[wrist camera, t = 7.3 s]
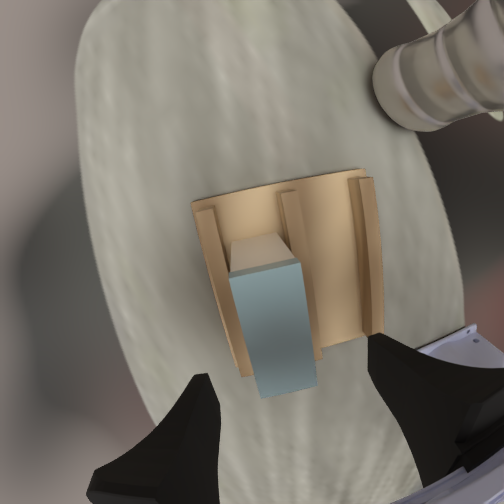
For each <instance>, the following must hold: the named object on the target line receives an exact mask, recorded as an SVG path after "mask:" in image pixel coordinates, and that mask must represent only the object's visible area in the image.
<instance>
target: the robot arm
mask: <svg viewBox="0 0 504 504" xmlns="http://www.w3.org/2000/svg"><path fill="white" fill-rule="evenodd" d="M476 328H477V325H476V324H475V323H473V324H471V325H469V326H467V327H465V328H463V329H461V330H459V331H457V332H455V333H453V334H451V335H449V336H447V337H445V338H443V339H440V340H438V341H436V342H434V343H432V344H429V345H427V346H425V347H422V348H420V349H418V350H415V349H412V348H410V347H408V346H406V345H404V344H402V343H400V342H398V341H396V340H394V339H392V338H390V337H388V336H386V335H384V334H382V333H380V332H379V333H376V334H373V335H370V336H368V372H369V375H370V377H371V379H372V381H373V383H374V385H375V387H376V389H377V391H378V392H379V394H380V395H381V397H382V398H383V400H384V401H385V403H386V405H387V406H388V408H389V409H390V411H391V412H392V414H393V415H394V417H395V418H396V420H397V422H398V424H399V425H400V427H401V429H402V432H403V434H404V436H405V438H406V440H407V443H408V445H409V448H410V450H411V452H412V455H413V457H414V460H415V463H416V466H417V469H418V472H419V475H420V478H421V481H422V485H423V489H421V490H419V491H417V492H415V493H413V494H411V495H409V496H407V497H404V498H402V499H400V500H397V501H395V502H393V503H390V504H497V503H499V502H504V353H502V352H501V351H500V350H499V349H497V348H496V347H495V346H494V345H492V344H491V343H490V342H489V341H487V340H486V339H485V338H484V337H482V336H481V335H480V334H478V333H477V332H476ZM220 430H221V412H220V403H219V401H218V398H217V396H216V393H215V391H214V388H213V386H212V383H211V381H210V378H209V375H208V373H204V374H196V375H194V376H193V377H192V379H191V380H190V382H189V384H188V385H187V387H186V388H185V390H184V391H183V393H182V394H181V396H180V397H179V399H178V400H177V402H176V403H175V404H174V406H173V407H172V409H171V410H170V411H169V412H168V414H167V415H166V416H165V418H164V419H163V420H162V421H161V422H160V423H159V425H158V426H157V427H156V428H155V429H154V430H153V431H152V432H151V433H150V434H149V435H148V436H147V437H145V438H144V439H143V440H142V441H141V442H139V443H138V444H137V445H136V446H135V447H133V448H132V449H131V450H129V451H128V452H126V453H125V454H123V455H122V456H120V457H119V458H117V459H115V460H114V461H112V462H110V463H108V464H106V465H104V466H102V467H100V468H98V469H96V470H95V471H94V473H93V476H92V478H91V481H90V484H89V487H88V489H87V492H86V496H87V497H88V499H89V501H90V502H92V503H93V504H220V501H219V488H218V454H219V442H220Z"/></svg>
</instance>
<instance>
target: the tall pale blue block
mask: <svg viewBox="0 0 504 504" xmlns="http://www.w3.org/2000/svg"><path fill="white" fill-rule="evenodd" d="M229 282H230V286H231V290H232V294H233V298H234V302H235V306H236V309H237V313H238V317H239V321H240V325H241V328H242V332H243V336H244V340H245V343H246V347H247V351H248V354H249V358H250V361H251V365H252V369H253V372H254V376H255V379H256V383H257V386H258V390H259V393H260V397H261V398H266V397H271V396H276V395H281V394H285V393H290V392H294V391H298V390H302V389H306V388H310V387H314V386H318V385H317V376H316V367H315V359H314V351H313V343H312V336H311V329H310V321H309V314H308V307H307V301H306V294H305V287H304V281H303V275H302V269H301V263H300V261H299V260H298V259H297V257H296V258H295V257H294V256H293V254H292V253H291V251H290V250H289V249H288V247H287V246H286V245H285V243H284V242H283V241H282V239H281V238H280V236H279V235H278V234H277V232H275V233H270V234H265V235H261V236H256V237H251V238H247V239H242V240H238V241H233V242H232V243H231V266H230V272H229Z"/></svg>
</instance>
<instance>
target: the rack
mask: <svg viewBox="0 0 504 504" xmlns="http://www.w3.org/2000/svg"><path fill="white" fill-rule="evenodd" d="M191 207H192V211H193V215H194V219H195V223H196V227H197V231H198V235H199V239H200V243H201V247H202V251H203V255H204V258H205V262H206V266H207V270H208V273H209V277H210V281H211V284H212V288H213V291H214V295H215V299H216V302H217V306H218V309H219V313H220V316H221V319H222V323H223V326H224V330H225V333H226V336H227V339H228V343H229V346H230V349H231V353H232V356H233V359H234V362H235V365H236V367H239V371H240V374H241V377H245V376H251V375H254V372H253V369H252V365H251V361H250V358H249V354H248V351H247V347H246V343H245V340H244V336H243V332H242V328H241V325H240V321H239V317H238V313H237V309H236V306H235V302H234V298H233V294H232V290H231V286H230V282H229V272H230V266H231V243H232V242H233V241H238V240H242V239H247V238H251V237H256V236H261V235H265V234H270V233H275V232H277V234H278V235H279V236H280V238H281V239H282V241H283V242H284V243H285V245H286V246H287V247H288V249H289V250H290V251H291V253H292V254H293V256H294V257H295V258H296V257H297V259H298V260H299V261H300V263H301V269H302V275H303V281H304V287H305V294H306V301H307V307H308V314H309V321H310V329H311V336H312V343H313V351H314V359H315V361H316V360H320V359H322V350H321V348H324V347H328V346H331V345H335V344H338V343H342V342H345V341H349V340H352V339H355V338H358V337H362V336H365V335H366V336H367V338H368V336H370V335H373V334H376V333H379V332H380V333H382V334H384V288H383V266H382V251H381V239H380V228H379V219H378V210H377V202H376V195H375V188H374V181H373V177H366V171H365V169H354V170H348V171H341V172H335V173H329V174H323V175H317V176H312V177H306V178H301V179H295V180H290V181H285V182H279V183H274V184H269V185H264V186H260V187H255V188H250V189H245V190H241V191H236V192H232V193H227V194H223V195H219V196H214V197H210V198H206V199H202V200H198V201H194V202H191Z"/></svg>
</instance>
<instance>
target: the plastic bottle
mask: <svg viewBox="0 0 504 504" xmlns="http://www.w3.org/2000/svg"><path fill="white" fill-rule="evenodd" d="M372 81H373V88H374V92H375V95H376V97H377V100H378V102H379V104H380V105H381V107H382V108H383V110H384V111H385V112H386V114H387V115H388V116H389V117H390V118H391V119H392V120H393V121H395V122H396V123H397V124H399V125H400V126H402V127H404V128H406V129H410V130H415V131H427V132H430V131H435V130H437V129H440V128H443V127H445V126H447V125H449V124H451V123H452V122H454V121H456V120H459V119H462V118H465V117H469V116H472V115H476V114H479V113H482V112H494V111H496V112H497V111H504V0H477V1H476V2H474V3H473V4H472V5H471V6H470V7H469V8H468V9H467V10H466V11H464V12H463V13H462V14H460V15H459V16H457V17H456V18H454V19H453V20H451V21H450V22H449V23H448V24H446V25H444V26H443V27H441V28H440V29H439V30H437V31H435V32H432V33H430V34H428V35H426V36H424V37H421V38H419V39H417V40H415V41H413V42H410V43H406V44H402V45H399V46H397V47H394V48H392V49H390V50H388V51H387V52H385V53H384V54H383V56H382V57H381V58H380V60H379V61H378V62H377V64H376V65H375V68H374V70H373V76H372Z"/></svg>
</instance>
